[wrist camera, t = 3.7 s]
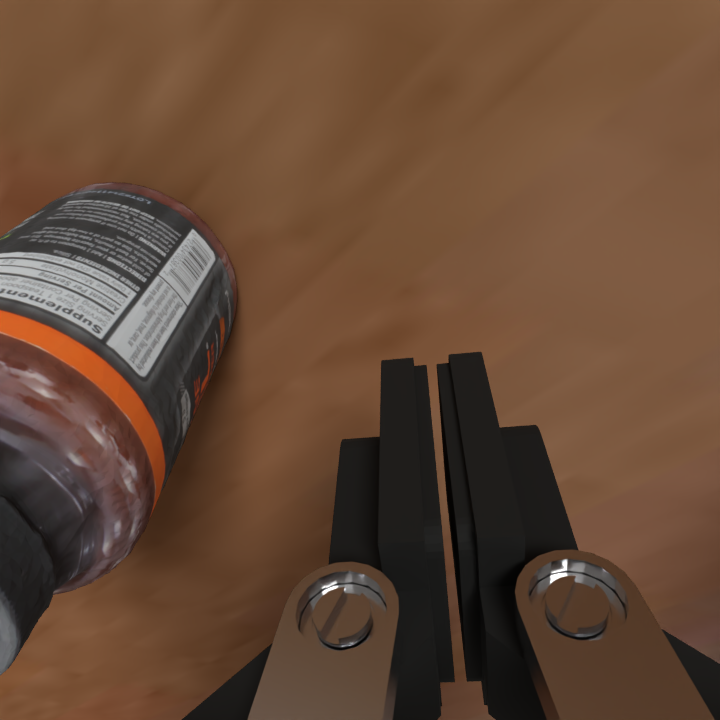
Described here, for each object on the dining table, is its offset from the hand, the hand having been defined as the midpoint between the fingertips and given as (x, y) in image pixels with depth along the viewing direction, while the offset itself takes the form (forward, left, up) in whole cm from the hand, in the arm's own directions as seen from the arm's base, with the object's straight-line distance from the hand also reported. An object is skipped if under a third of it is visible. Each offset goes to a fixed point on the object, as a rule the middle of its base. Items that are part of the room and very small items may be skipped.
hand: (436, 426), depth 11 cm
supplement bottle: (+8, 0, -8) cm, 11 cm away
